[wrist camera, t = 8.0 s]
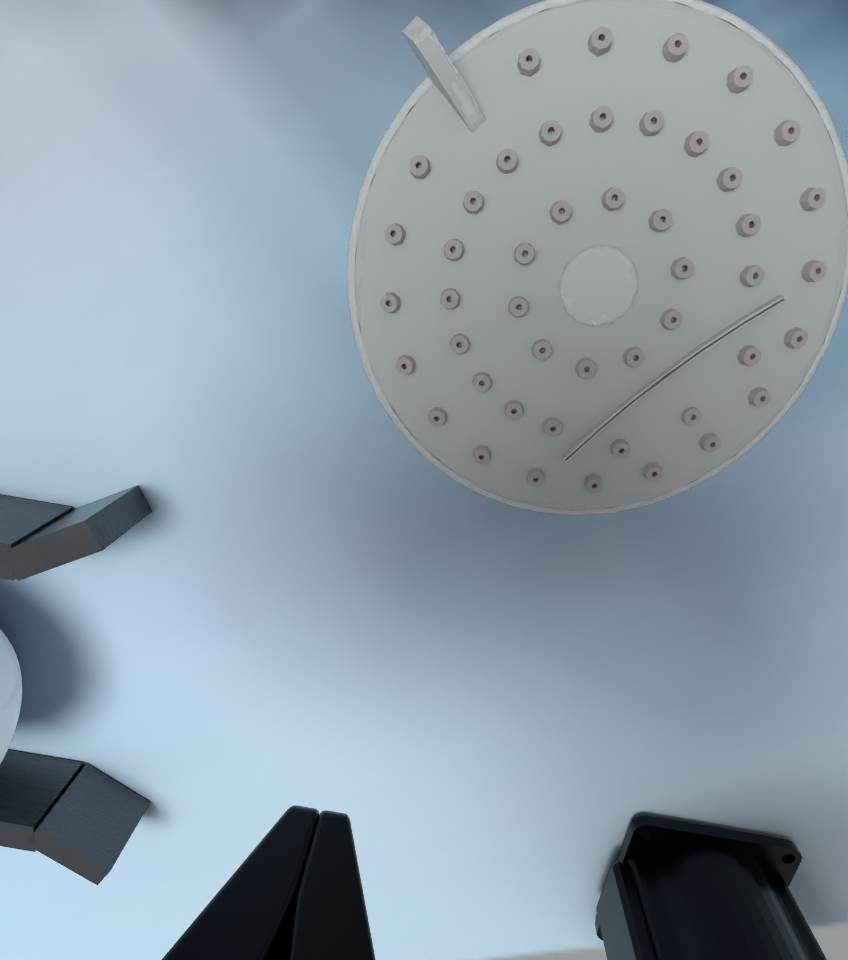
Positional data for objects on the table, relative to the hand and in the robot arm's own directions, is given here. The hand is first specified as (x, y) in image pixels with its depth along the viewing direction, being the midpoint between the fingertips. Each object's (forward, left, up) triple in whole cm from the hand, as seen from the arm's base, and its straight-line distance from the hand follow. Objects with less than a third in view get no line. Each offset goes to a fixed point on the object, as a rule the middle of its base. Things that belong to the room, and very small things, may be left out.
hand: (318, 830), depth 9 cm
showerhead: (-3, -8, -12) cm, 15 cm away
